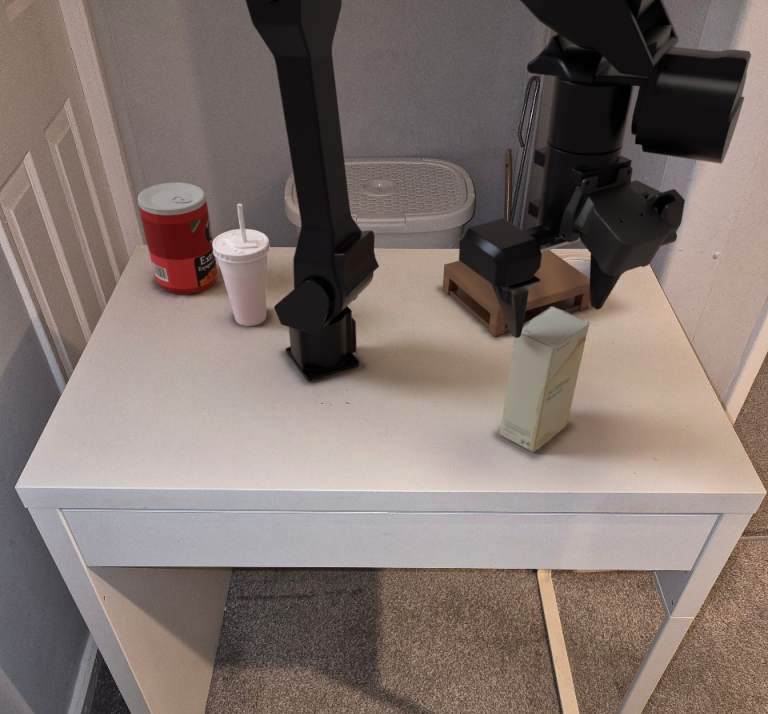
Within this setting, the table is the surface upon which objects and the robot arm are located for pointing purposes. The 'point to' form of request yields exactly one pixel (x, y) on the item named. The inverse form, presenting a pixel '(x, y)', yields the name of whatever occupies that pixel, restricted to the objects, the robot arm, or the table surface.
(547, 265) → the shelf
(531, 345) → the cosmetic box
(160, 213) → the canned food
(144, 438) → the table surface
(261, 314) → the smoothie
